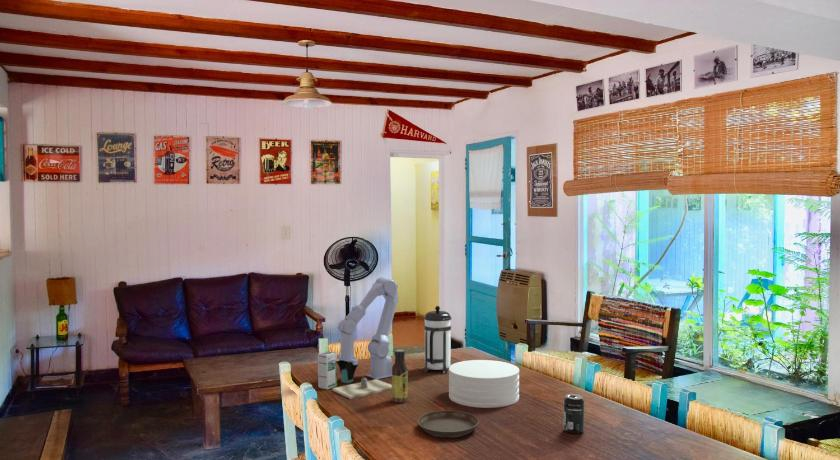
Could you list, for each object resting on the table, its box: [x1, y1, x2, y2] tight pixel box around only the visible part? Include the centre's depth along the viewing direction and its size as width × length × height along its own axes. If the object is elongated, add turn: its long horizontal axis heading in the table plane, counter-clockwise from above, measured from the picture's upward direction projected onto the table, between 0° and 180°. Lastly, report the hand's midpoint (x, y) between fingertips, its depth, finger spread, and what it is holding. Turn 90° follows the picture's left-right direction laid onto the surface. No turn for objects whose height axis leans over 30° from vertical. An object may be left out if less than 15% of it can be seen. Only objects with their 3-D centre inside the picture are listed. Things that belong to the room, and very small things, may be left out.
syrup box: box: [317, 350, 338, 390], centre depth 262 cm, size 6×6×14 cm
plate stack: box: [448, 359, 520, 409], centre depth 249 cm, size 28×28×12 cm
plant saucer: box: [417, 410, 479, 439], centre depth 213 cm, size 21×21×3 cm
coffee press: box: [422, 305, 452, 374], centre depth 288 cm, size 17×16×30 cm
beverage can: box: [563, 393, 585, 434], centre depth 211 cm, size 7×7×12 cm
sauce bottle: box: [391, 349, 409, 403], centre depth 244 cm, size 7×6×20 cm
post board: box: [332, 377, 392, 400], centre depth 258 cm, size 22×14×5 cm, turn 128°
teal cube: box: [340, 369, 354, 384], centre depth 271 cm, size 5×5×5 cm
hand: (347, 378), depth 271 cm, fingers closed on teal cube, 5 cm apart
